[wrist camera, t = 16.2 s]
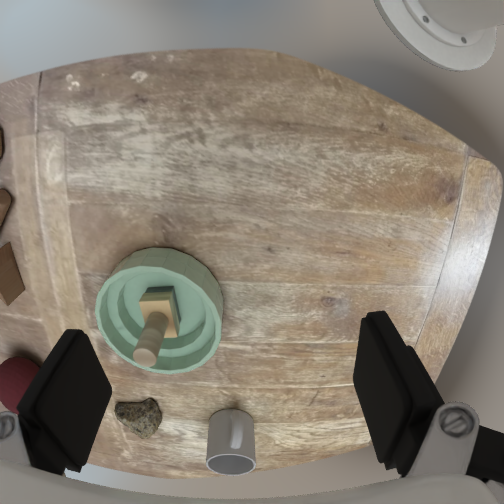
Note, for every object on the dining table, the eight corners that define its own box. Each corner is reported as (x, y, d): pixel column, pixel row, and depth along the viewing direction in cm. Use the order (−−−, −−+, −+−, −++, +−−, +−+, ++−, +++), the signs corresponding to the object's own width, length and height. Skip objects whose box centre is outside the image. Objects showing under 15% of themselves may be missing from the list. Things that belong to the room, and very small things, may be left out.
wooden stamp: (146, 286, 36) (120, 337, 27) (174, 284, 36) (155, 337, 27) (155, 321, 38) (135, 376, 29) (182, 320, 38) (167, 376, 29)
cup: (206, 429, 48) (203, 472, 40) (215, 393, 44) (211, 441, 36) (248, 434, 49) (250, 477, 40) (262, 399, 45) (265, 446, 37)
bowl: (148, 220, 34) (133, 238, 29) (247, 294, 38) (249, 321, 33) (94, 303, 38) (77, 327, 33) (181, 361, 42) (175, 390, 37)
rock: (173, 423, 47) (170, 444, 43) (135, 426, 48) (130, 446, 44) (154, 397, 45) (148, 418, 40) (114, 401, 45) (107, 421, 41)
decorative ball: (33, 341, 40) (4, 381, 31) (67, 386, 44) (46, 428, 35) (2, 349, 41) (-25, 384, 32) (34, 390, 45) (12, 427, 36)
